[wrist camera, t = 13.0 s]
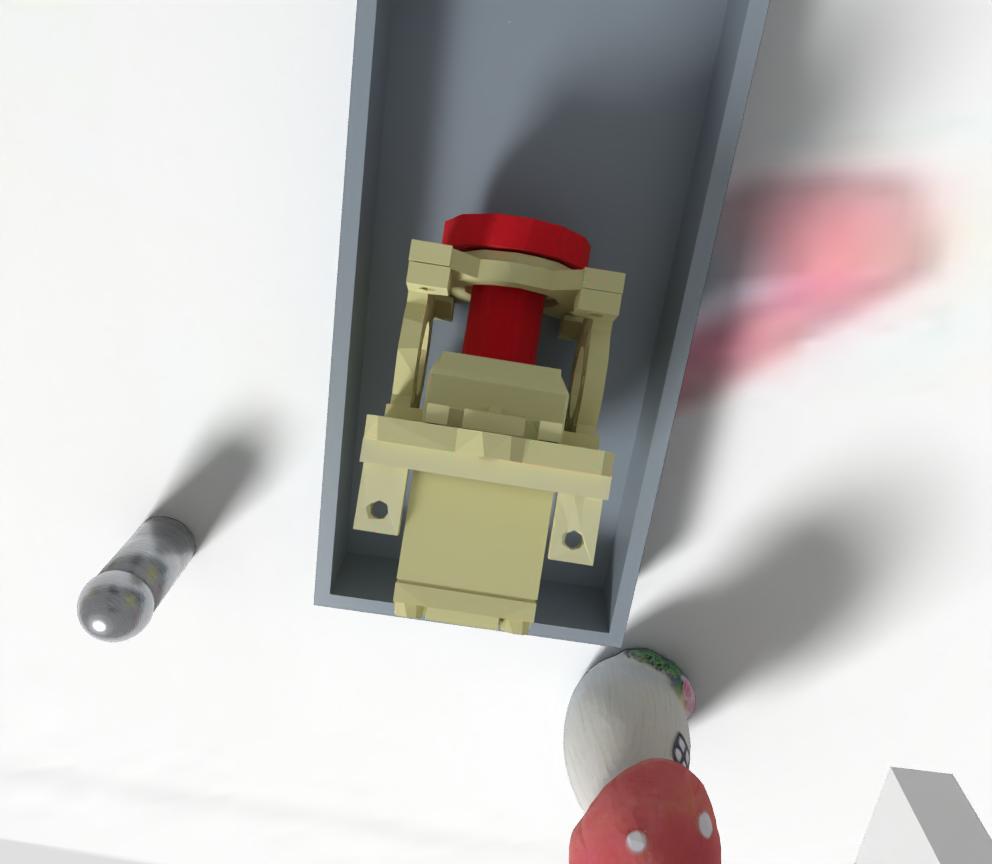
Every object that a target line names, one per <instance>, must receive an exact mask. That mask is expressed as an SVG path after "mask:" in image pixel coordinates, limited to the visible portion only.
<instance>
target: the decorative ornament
mask: <svg viewBox="0 0 992 864" xmlns="http://www.w3.org/2000/svg"><path fill="white" fill-rule="evenodd" d="M695 701H696V700H695V696H694V691H693V688H692V685H691V683H690V681H689V680H688V678H687V677H686V675H685V674H684V673H683V672H682V671H681V670H680V669H679V668H678V667H677V666H676V665H675V664H674V663H673V662H671V661H669V660H667V659H666V658H664V657H662V656H660V655H658V654H656V653H655V652H653V651H651V650H649V649H632V650H624V651H622V652H621V653H619V654H618V655H616V656H613V657H611V658H608V659H606V660H604V661H602V662H600V663H598V664H596V665H595V666H594V667H592V668H591V669H590V670H589V671H588V672H587V673H586V674H585V675H584V677H583V678H582V679H581V680H580V682H579V683H578V685H577V687H576V688H575V690H574V692H573V694H572V697H571V699H570V703H569V706H568V709H567V714H566V719H565V726H564V757H565V763H566V768H567V773H568V776H569V780H570V783H571V786H572V788H573V791H574V793H575V796H576V798H577V800H578V803H579V805H580V806H581V808H582V810H583V812H584V814H585V815H584V816H583V818H582V819H581V820H580V821H579V823H578V824H577V826H576V827H575V828H574V830H573V832H572V835H571V839H570V845H569V864H721V845H720V837H719V833H718V830H717V825H716V819H715V816H714V812H713V808H712V805H711V802H710V800H709V797H708V795H707V792H706V790H705V788H704V785H703V784H702V783H701V781H700V780H699V779H698V778H697V777H696V776H695V775H694V774H693V773H692V772H691V771H690V770H689V764H690V747H691V745H690V735H689V728H688V723H687V719H688V718H689V717H690V716H691V715H692V713H693V711H694V709H695Z"/></svg>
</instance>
